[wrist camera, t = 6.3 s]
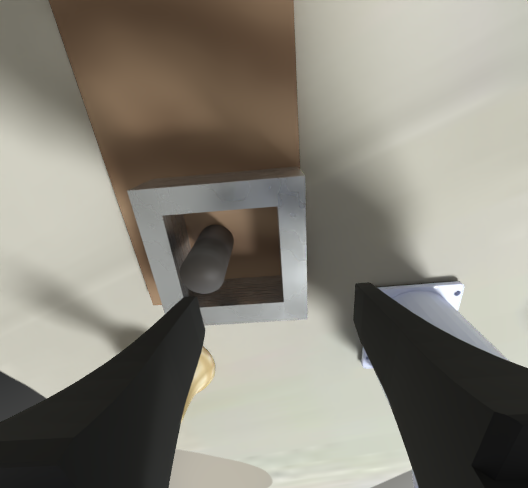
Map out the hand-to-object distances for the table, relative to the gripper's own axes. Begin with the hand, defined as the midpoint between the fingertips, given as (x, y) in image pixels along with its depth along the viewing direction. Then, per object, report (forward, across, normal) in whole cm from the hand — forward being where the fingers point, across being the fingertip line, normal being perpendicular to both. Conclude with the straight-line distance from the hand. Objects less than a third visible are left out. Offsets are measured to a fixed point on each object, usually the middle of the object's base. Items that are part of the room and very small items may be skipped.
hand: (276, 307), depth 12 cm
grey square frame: (+8, +3, 0) cm, 9 cm away
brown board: (+9, +4, -6) cm, 12 cm away
